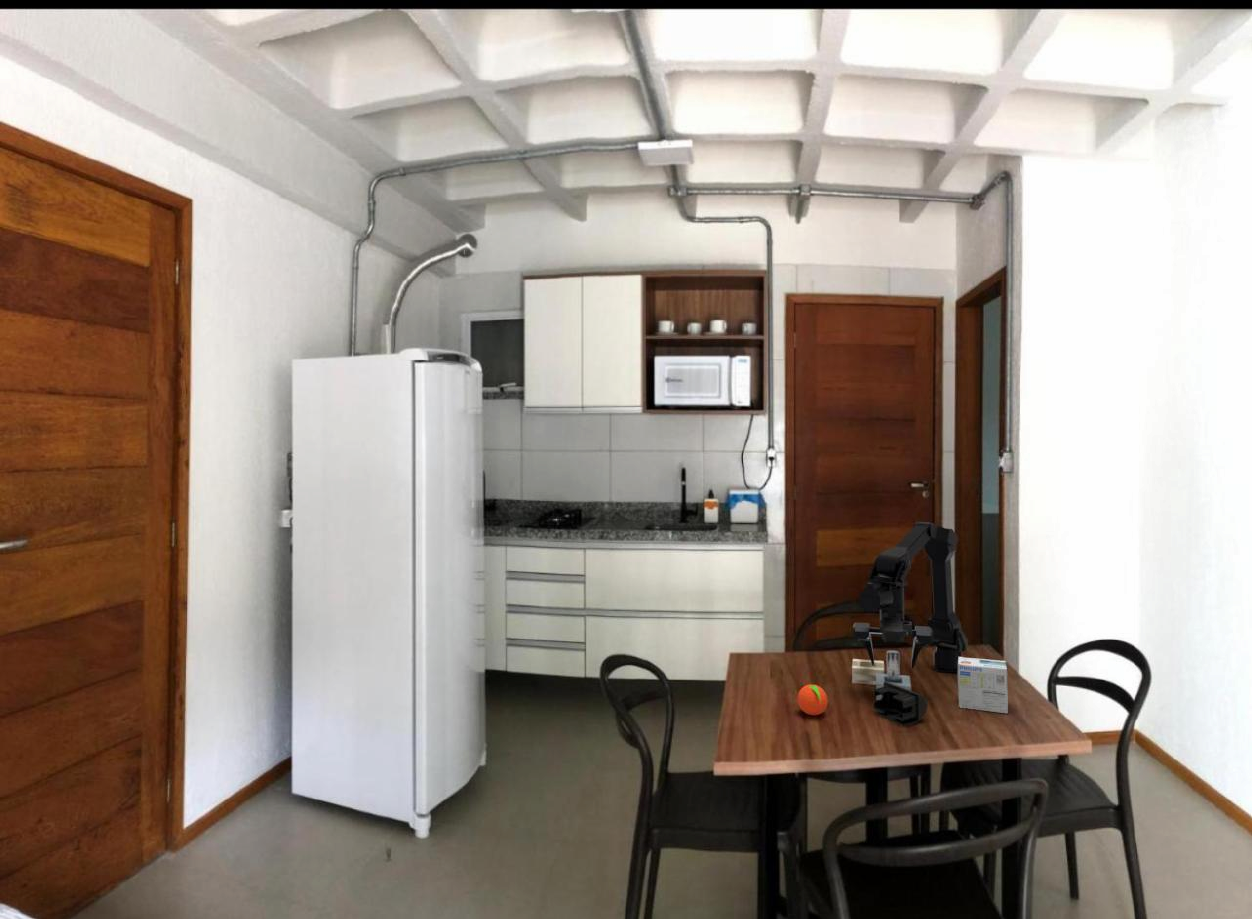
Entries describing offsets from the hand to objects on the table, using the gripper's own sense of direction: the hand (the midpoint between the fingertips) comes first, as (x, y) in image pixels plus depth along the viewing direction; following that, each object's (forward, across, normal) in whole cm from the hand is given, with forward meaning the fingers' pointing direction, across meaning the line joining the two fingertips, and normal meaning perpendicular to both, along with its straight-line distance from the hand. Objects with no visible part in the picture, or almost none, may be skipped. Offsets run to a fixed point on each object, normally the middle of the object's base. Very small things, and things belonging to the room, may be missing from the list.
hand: (892, 666), depth 181 cm
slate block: (+7, 0, 0) cm, 7 cm away
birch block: (+7, -6, +11) cm, 15 cm away
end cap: (+8, +1, -14) cm, 16 cm away
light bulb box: (+8, +20, -2) cm, 22 cm away
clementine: (+8, -18, -18) cm, 26 cm away
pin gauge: (+6, 0, 0) cm, 6 cm away
